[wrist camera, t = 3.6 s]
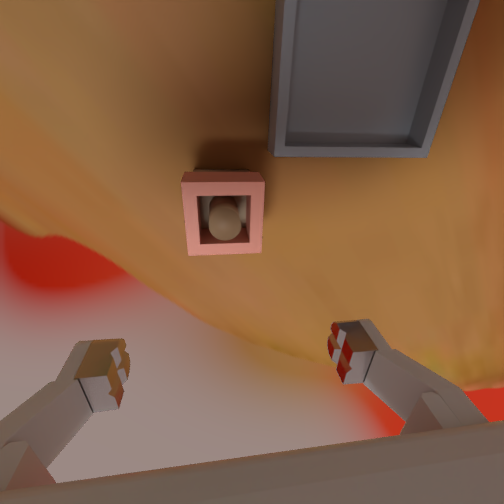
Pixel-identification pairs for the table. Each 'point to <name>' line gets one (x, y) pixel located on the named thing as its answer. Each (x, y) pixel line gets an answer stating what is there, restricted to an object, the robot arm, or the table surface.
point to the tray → (363, 75)
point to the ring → (223, 186)
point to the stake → (223, 211)
